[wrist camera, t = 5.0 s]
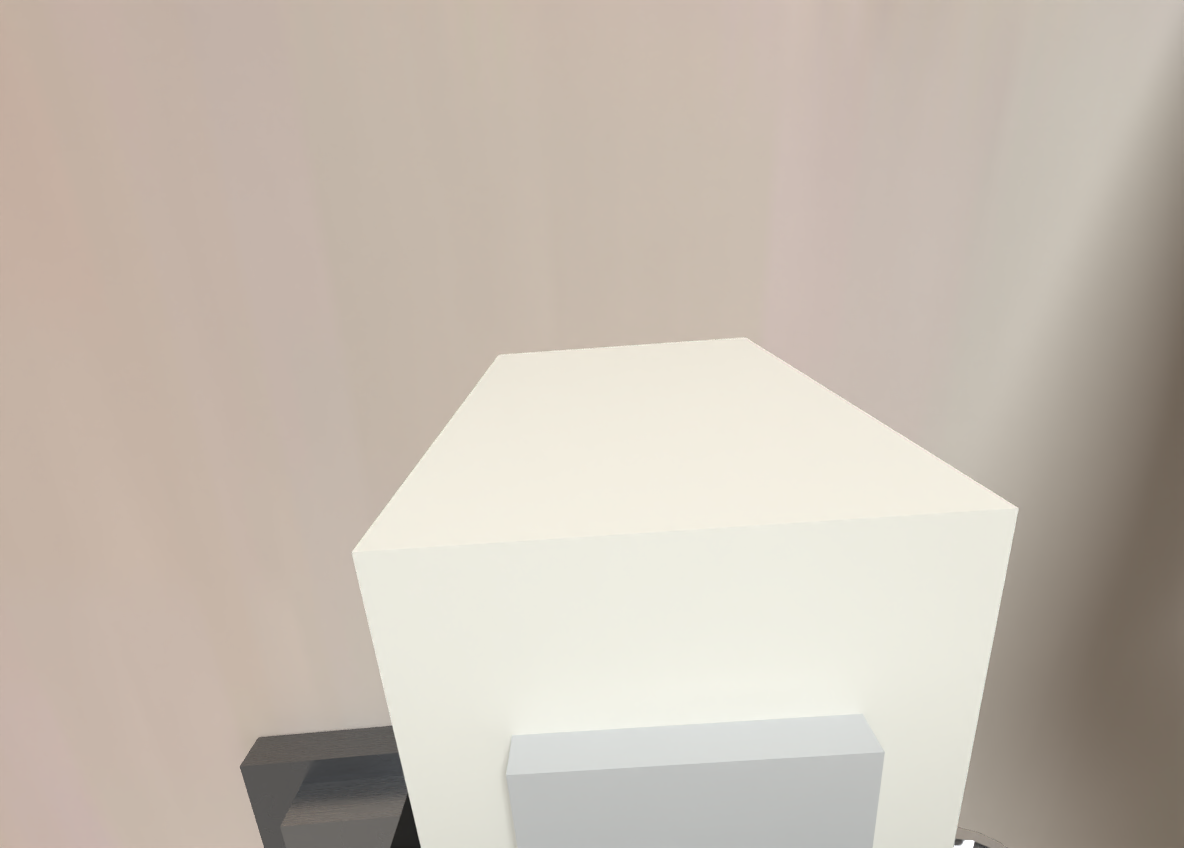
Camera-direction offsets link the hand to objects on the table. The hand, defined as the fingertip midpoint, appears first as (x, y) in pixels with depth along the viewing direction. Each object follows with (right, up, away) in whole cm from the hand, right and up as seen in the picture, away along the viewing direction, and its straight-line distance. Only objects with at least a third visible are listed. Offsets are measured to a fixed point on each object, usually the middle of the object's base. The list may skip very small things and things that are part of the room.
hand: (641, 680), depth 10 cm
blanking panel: (0, 0, +1) cm, 1 cm away
